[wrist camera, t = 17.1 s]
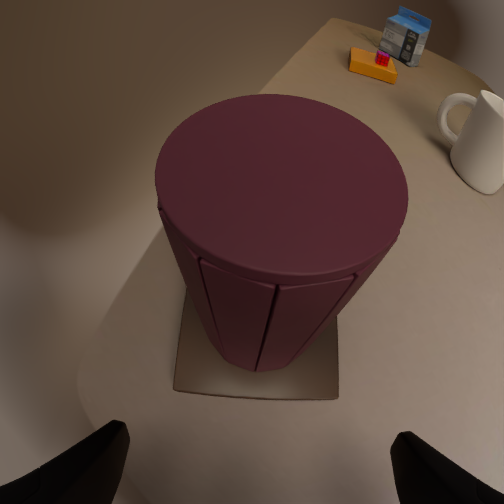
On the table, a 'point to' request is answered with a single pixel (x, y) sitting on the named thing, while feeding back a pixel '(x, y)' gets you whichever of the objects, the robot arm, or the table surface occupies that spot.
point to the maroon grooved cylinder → (276, 219)
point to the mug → (477, 140)
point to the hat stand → (254, 383)
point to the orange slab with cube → (372, 65)
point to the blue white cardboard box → (405, 36)
